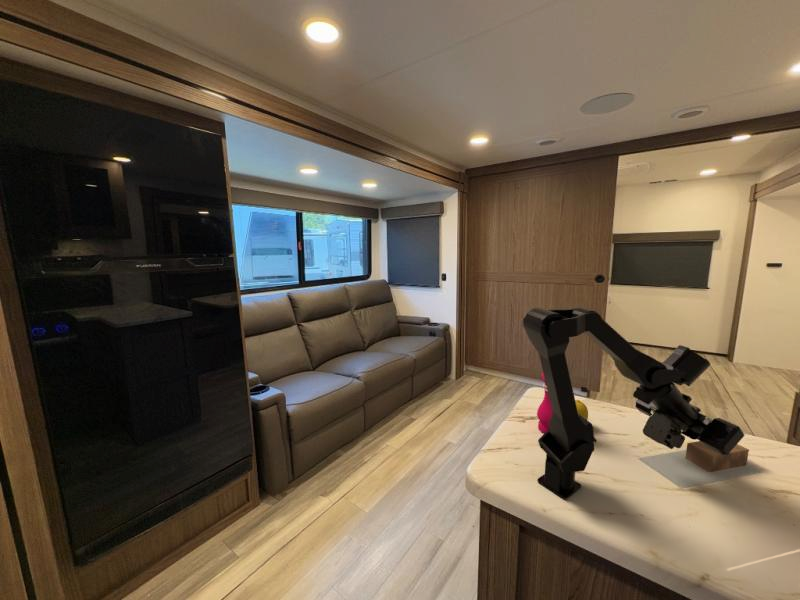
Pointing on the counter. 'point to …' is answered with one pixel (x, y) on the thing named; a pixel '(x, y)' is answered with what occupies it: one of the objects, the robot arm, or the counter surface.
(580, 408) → the lemon
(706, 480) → the strip
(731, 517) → the counter surface
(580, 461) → the robot arm
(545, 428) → the pepper mill
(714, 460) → the walnut block
